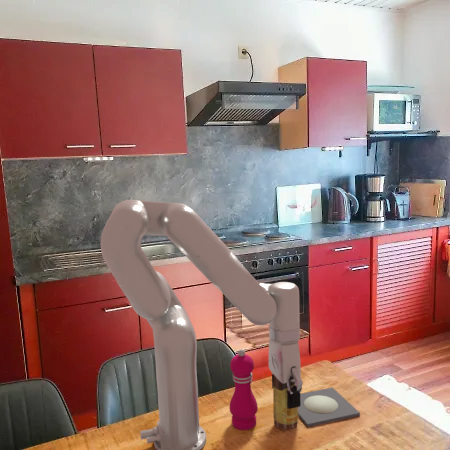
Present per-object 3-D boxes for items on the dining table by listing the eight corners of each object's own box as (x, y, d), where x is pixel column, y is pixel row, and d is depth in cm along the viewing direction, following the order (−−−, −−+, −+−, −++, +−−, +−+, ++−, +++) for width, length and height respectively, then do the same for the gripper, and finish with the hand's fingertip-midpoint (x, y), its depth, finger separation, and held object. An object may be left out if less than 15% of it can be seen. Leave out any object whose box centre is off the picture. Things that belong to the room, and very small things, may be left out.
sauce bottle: (290, 434, 110) (289, 358, 107) (269, 426, 114) (267, 352, 111) (303, 421, 115) (302, 348, 112) (282, 414, 119) (280, 343, 116)
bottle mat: (307, 427, 113) (307, 423, 113) (284, 399, 126) (284, 396, 126) (359, 415, 117) (359, 412, 117) (332, 390, 130) (332, 387, 130)
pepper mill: (256, 432, 111) (253, 356, 108) (227, 430, 113) (224, 355, 110) (259, 416, 118) (257, 344, 115) (232, 414, 120) (230, 343, 117)
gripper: (257, 323, 118) (259, 383, 121) (284, 348, 102) (286, 418, 104) (284, 319, 120) (285, 379, 123) (314, 343, 104) (315, 412, 106)
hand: (285, 397), depth 113 cm, fingers open, 9 cm apart
